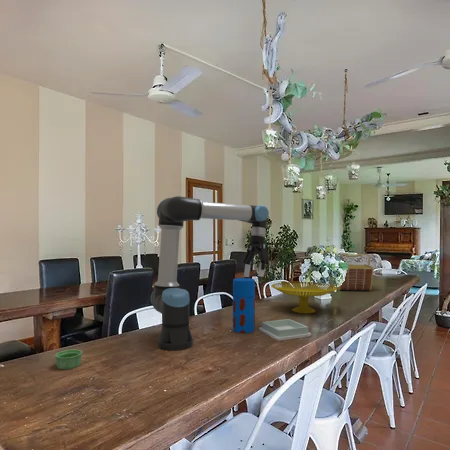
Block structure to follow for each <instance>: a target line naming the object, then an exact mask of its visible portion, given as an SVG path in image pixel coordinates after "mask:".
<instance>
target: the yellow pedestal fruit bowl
mask: <svg viewBox="0 0 450 450" xmlns="http://www.w3.org/2000/svg"><path fill="white" fill-rule="evenodd" d="M270 287H271V288H273V289H275V290H276V291H278V292H280V293H282V294H284V295H288V296H289V295H290V296H296V297H298V300H299V301H298V302H299V306H296V307H294V308H292V309H291V311H293V312H294V313H300V314H312V313H316V310H315V309H314V308H312V307H310V306H309V298H310V297H320V296H321V297H322V296H325V295H328V294H330V293H332V292H335V291H338V288H337V287H335V285H332V284H328V283H322V282H311V281H285V282H284V281H283V282H282V281H281V282H276V283H273V284H271V285H270Z"/></svg>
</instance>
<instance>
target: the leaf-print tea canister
mask: <svg viewBox="0 0 450 450" xmlns="http://www.w3.org/2000/svg"><path fill="white" fill-rule="evenodd" d="M255 282H256V281H255V279H254V278H250V277H242V278H241V277H239V278H234V279H233V280H232V330H233V332H234V333H238V334H250V333H253V332H254V331H255V326H256V325H255V324H256V320H255V319H256V283H255Z"/></svg>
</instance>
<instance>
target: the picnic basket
mask: <svg viewBox="0 0 450 450" xmlns="http://www.w3.org/2000/svg"><path fill="white" fill-rule="evenodd" d="M337 254H338V255H337V256H345V257H347V258H357V257H361V256H368V261H367V264H347V265H348V270H347V273H346V277H345V281H344V282H343V284H342V285H341V286H340V287H338V289H337V291H362V292H364V291H367V292H371V291H372V287H373V278H374V272H375V271H374V270H375V269H374V266H372V265H370V264H371V255H370V254H368V253H360V254H345V253H337Z"/></svg>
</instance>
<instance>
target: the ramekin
mask: <svg viewBox="0 0 450 450" xmlns="http://www.w3.org/2000/svg"><path fill="white" fill-rule="evenodd" d="M82 355H83V351H82V350H80V349H65V350H60V351H59V352H57V353H56V354H55V355H54V357H55V361H56V367H57V369H59V370H70V369H74V368H77V367H79V366H80V365H81V363H82Z"/></svg>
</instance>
